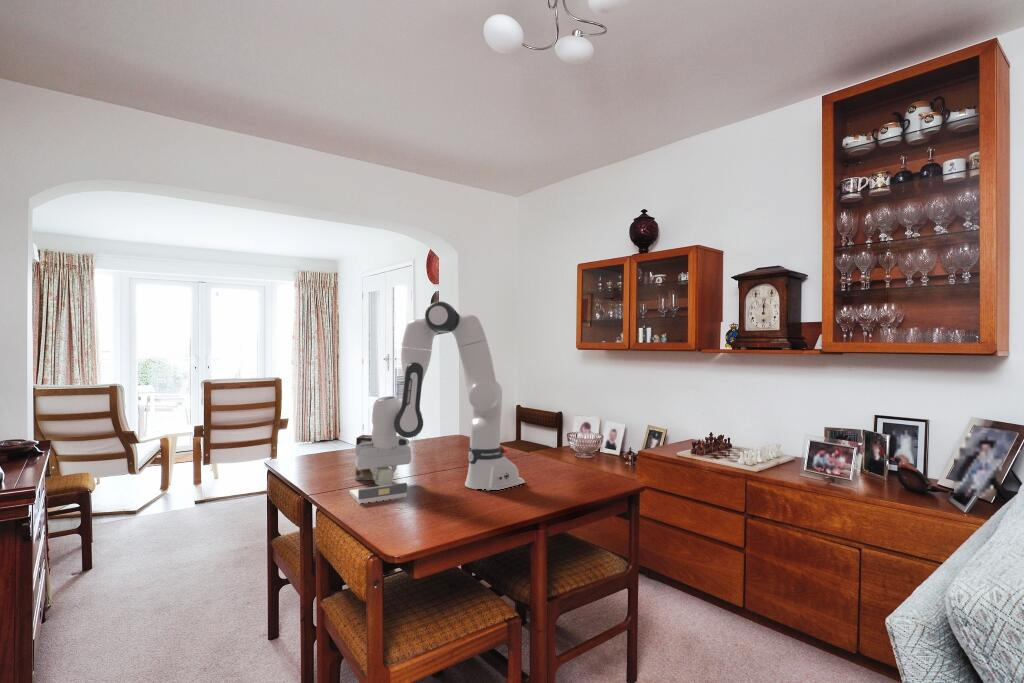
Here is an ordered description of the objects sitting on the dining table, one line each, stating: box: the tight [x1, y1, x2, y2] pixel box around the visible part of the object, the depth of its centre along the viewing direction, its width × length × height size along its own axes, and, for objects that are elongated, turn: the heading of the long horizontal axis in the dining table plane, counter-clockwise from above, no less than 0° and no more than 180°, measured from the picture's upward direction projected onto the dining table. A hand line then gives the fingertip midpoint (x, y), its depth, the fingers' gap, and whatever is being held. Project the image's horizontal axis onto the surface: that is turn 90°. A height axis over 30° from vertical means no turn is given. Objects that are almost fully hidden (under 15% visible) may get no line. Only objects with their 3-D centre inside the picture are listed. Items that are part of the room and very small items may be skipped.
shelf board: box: [348, 482, 408, 505], centre depth 172 cm, size 16×12×4 cm
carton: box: [374, 466, 393, 486], centre depth 186 cm, size 4×7×6 cm, turn 32°
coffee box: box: [354, 434, 375, 482], centre depth 194 cm, size 9×6×16 cm
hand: (383, 478), depth 186 cm, fingers closed on carton, 4 cm apart
